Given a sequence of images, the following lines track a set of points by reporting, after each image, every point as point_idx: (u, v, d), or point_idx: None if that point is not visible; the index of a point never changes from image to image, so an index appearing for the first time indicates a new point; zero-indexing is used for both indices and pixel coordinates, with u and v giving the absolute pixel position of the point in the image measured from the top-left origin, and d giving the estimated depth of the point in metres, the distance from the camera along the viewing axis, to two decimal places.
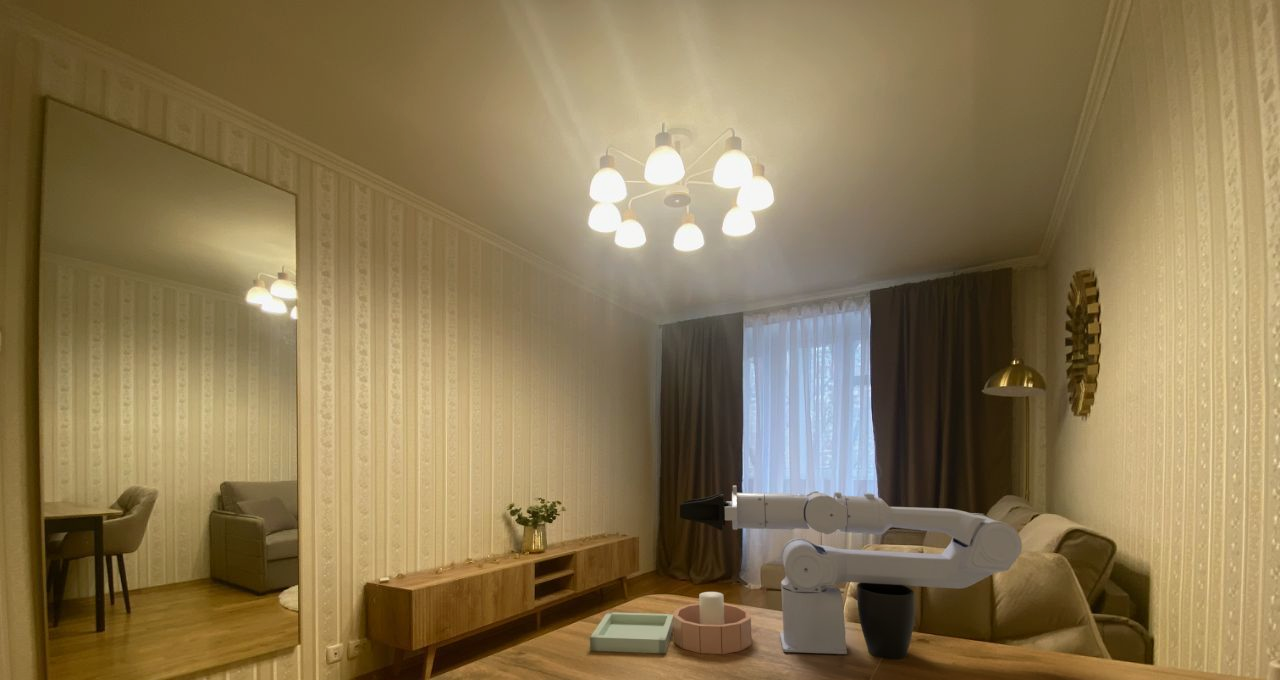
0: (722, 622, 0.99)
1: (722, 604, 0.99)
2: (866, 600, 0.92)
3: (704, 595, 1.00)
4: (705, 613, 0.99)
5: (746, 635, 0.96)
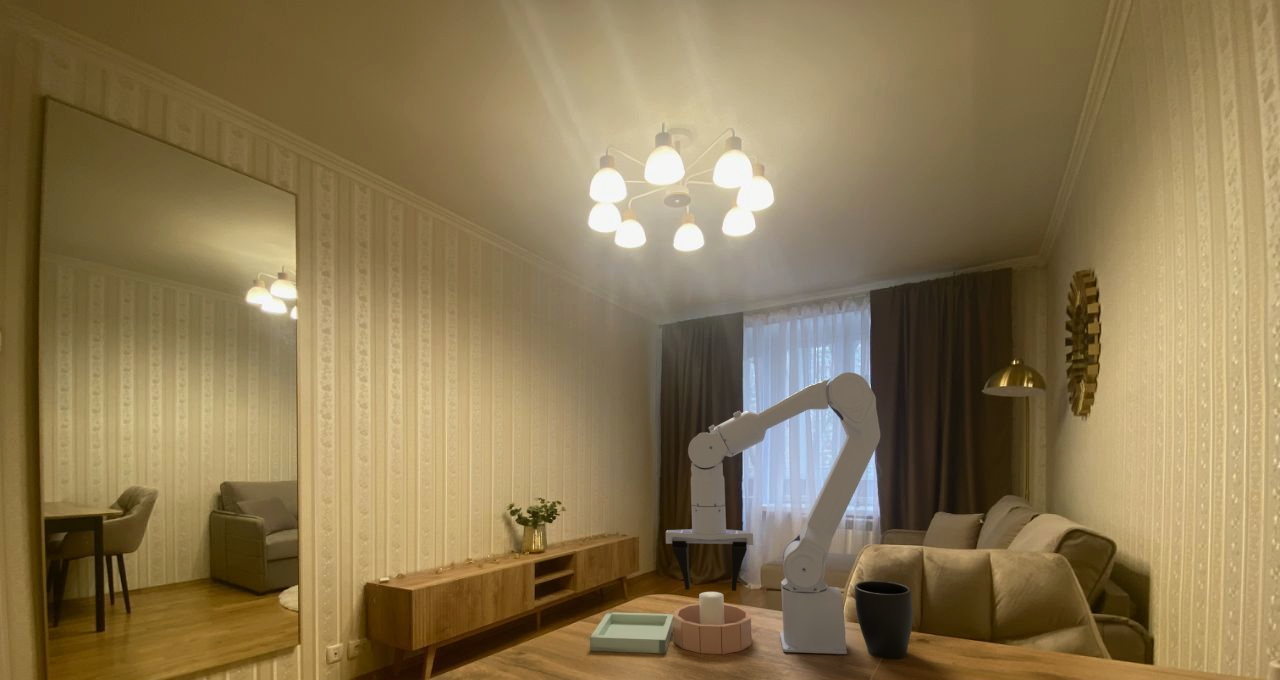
0: (722, 622, 0.99)
1: (722, 604, 0.99)
2: (864, 600, 0.92)
3: (704, 595, 1.00)
4: (705, 613, 0.99)
5: (746, 635, 0.96)
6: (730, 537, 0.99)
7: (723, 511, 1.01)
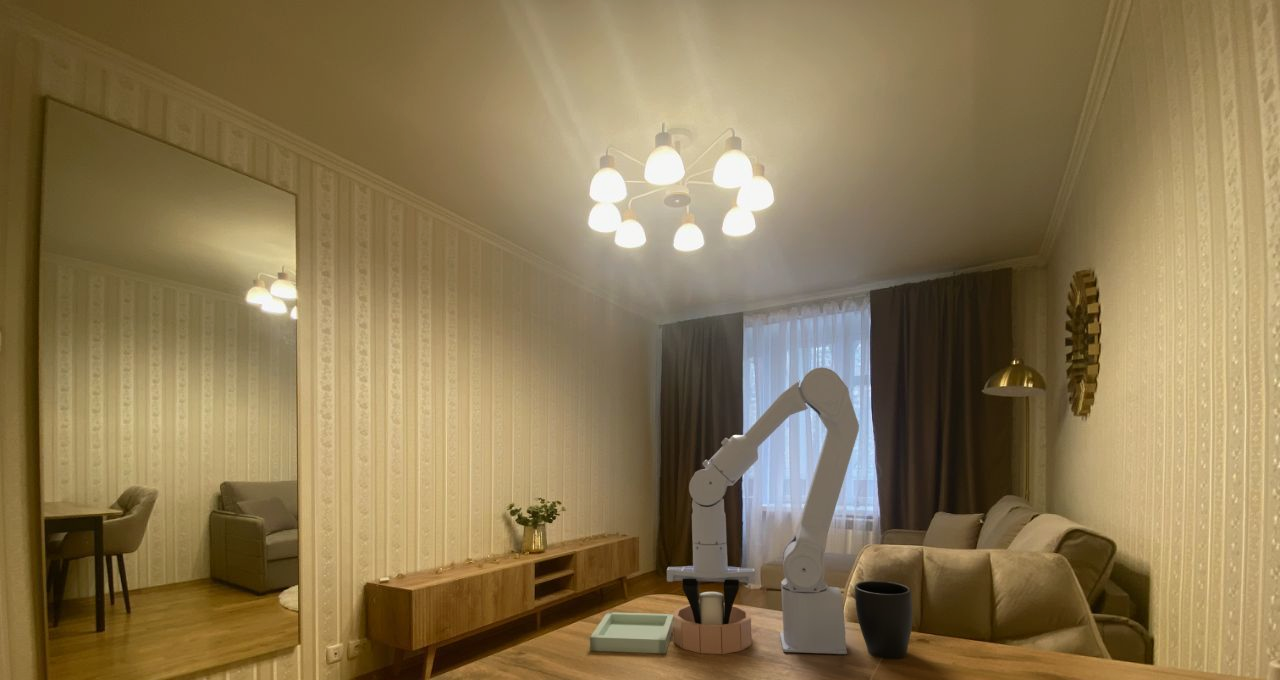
0: (722, 622, 0.99)
1: (722, 604, 0.99)
2: (864, 600, 0.92)
3: (704, 595, 1.00)
4: (705, 613, 0.99)
5: (746, 635, 0.96)
6: (732, 575, 0.99)
7: (724, 549, 1.00)
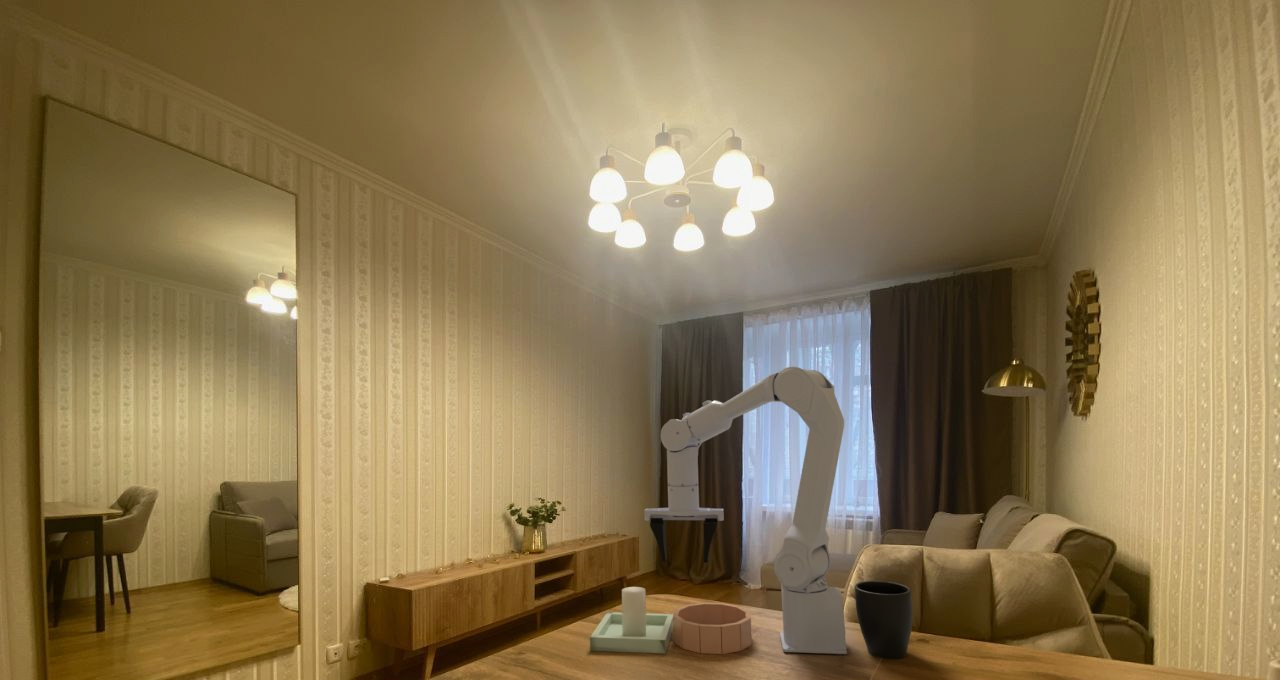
0: (643, 616, 1.00)
1: (643, 599, 1.01)
2: (864, 600, 0.92)
3: (626, 590, 1.02)
4: (626, 608, 1.00)
5: (746, 635, 0.96)
6: (702, 514, 1.09)
7: (696, 490, 1.11)
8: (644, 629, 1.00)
